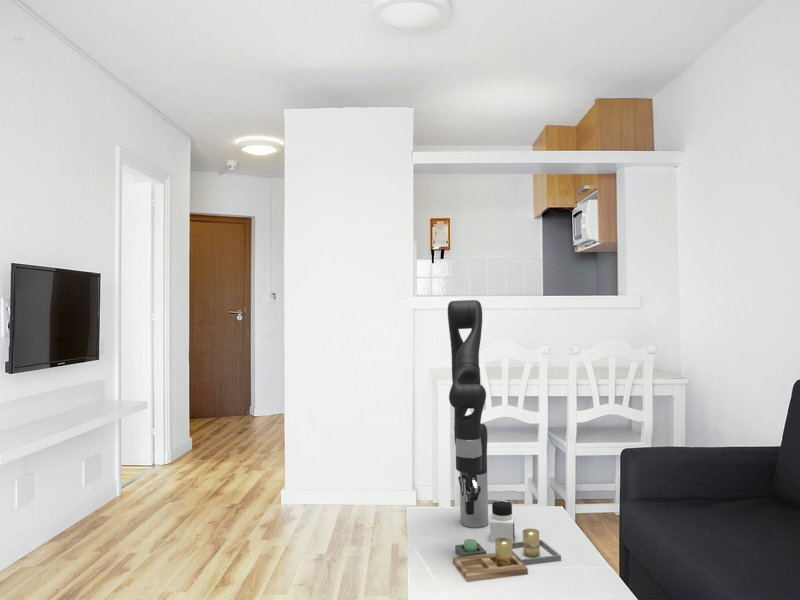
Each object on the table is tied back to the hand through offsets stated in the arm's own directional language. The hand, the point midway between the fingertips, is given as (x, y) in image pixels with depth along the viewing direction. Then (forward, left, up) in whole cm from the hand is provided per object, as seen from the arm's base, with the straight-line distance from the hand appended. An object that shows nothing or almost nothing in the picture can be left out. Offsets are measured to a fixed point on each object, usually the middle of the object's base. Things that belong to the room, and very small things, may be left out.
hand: (469, 513), depth 175 cm
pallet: (+9, +2, -13) cm, 16 cm away
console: (0, 0, -13) cm, 13 cm away
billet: (+4, +17, -12) cm, 21 cm away
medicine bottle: (-10, +14, -13) cm, 22 cm away
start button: (0, 0, -11) cm, 11 cm away
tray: (+4, +17, -13) cm, 22 cm away
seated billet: (+9, +6, -12) cm, 17 cm away
